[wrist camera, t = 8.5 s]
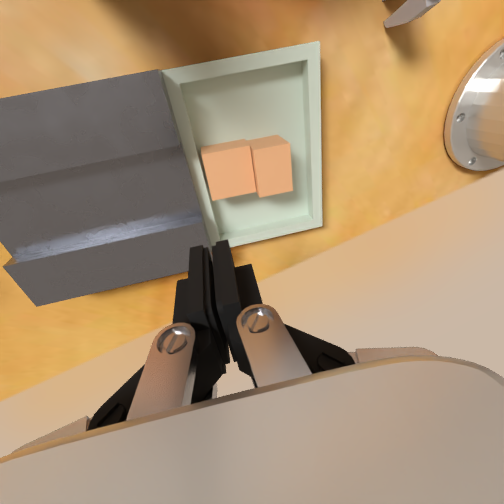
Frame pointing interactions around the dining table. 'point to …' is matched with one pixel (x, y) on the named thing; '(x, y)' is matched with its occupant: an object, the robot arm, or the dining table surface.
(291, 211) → the tray
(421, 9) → the caliper
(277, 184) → the chip
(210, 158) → the chip
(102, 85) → the slot block
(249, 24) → the dining table surface
